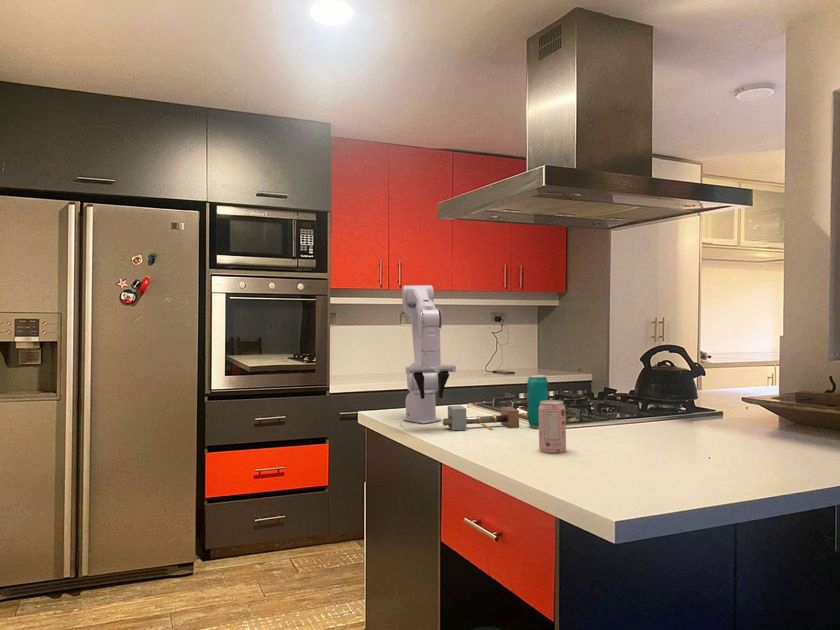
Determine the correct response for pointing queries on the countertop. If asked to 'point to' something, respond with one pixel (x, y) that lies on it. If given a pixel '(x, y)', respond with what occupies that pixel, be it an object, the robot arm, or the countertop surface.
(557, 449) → the beverage can
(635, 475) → the countertop surface
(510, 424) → the pipe rig
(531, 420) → the beverage can
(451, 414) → the sleeve
